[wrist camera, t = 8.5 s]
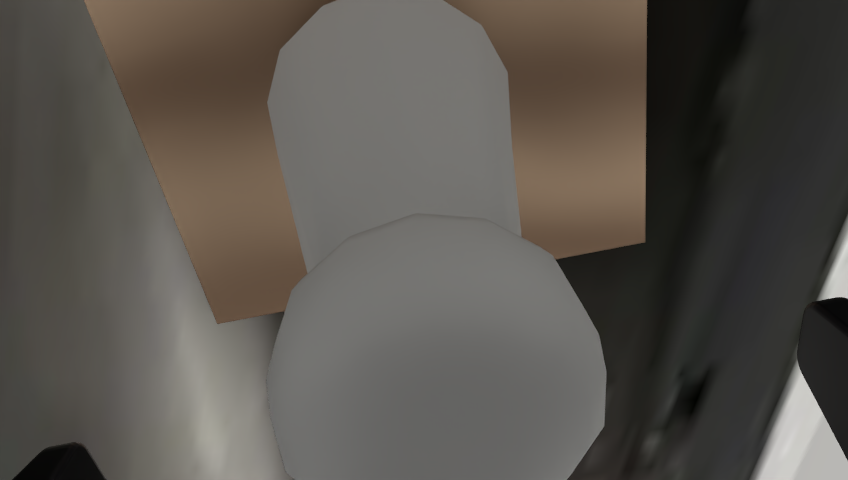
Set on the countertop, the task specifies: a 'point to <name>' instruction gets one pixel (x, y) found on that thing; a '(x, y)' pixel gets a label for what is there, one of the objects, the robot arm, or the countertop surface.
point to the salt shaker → (418, 264)
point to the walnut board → (256, 150)
